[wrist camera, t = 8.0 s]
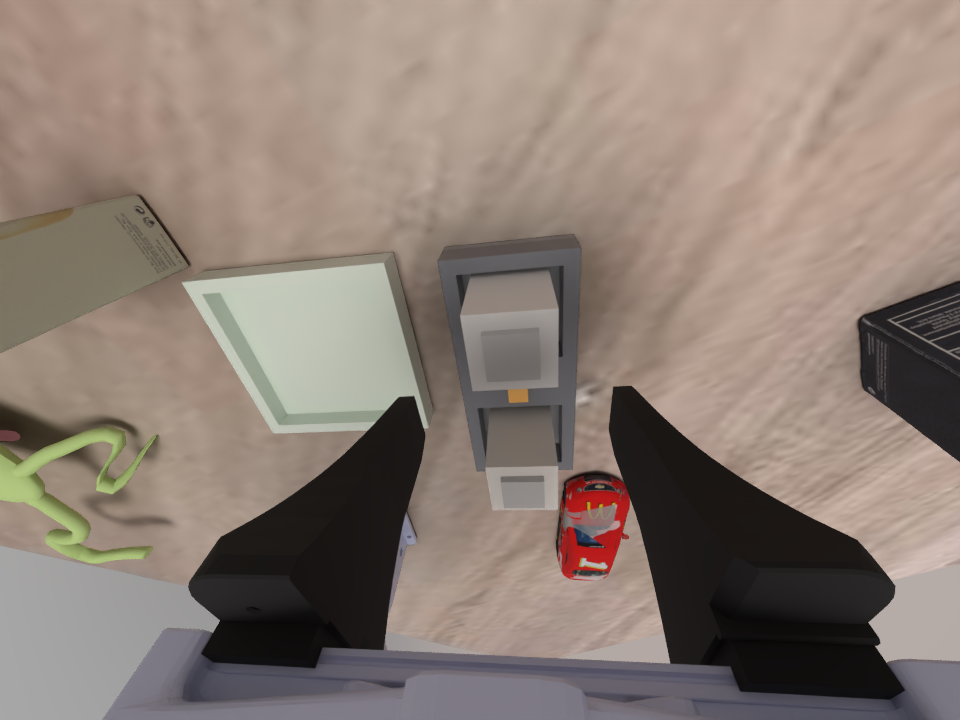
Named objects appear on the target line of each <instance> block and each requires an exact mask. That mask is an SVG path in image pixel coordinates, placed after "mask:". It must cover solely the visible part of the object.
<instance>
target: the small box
mask: <svg viewBox="0 0 960 720" xmlns="http://www.w3.org/2000/svg"><path fill="white" fill-rule="evenodd" d="M860 325H861V326H860V330H861V334H862V339H861V341H862V364H863V370H862V373H861V374H862V378H863V386H864V390H865V391H867V392H868V393H869V394H871V395H872V396H874V397H875V398H876V399H877V400H879V401H880V402H881V403H883V404H884V405H885V406H887V407H888V408H890V409H891V410H892V411H893V412H895V413H896V414H897V415H899V416H900V417H901V418H903V419H904V420H905V421H906V422H908V423H909V424H910V425H912V426H913V427H914V428H916V429H917V430H918V431H920V432H921V433H922V434H923V435H925V436H926V437H928V438H929V439H930V440H932V441H933V442H934V443H936V444H937V445H938V446H940V447H941V448H942V449H943V450H944V451H946V452H947V453H949V454H950V455H951V456H952V457H954V458H955V459H957V460H958V461H959V462H960V282H959V283H957V284H954V285H951V286H948V287H945V288H943V289H940V290H937V291H934V292H932V293H929V294H926V295H923V296H920V297H918V298H915V299H912V300H909V301H906V302H904V303H901V304H898V305H896V306H892V307H890V308H887V309H884V310H881V311H879V312H876V313H873V314H870V315H868V316H865V317H863V319H862V320H861V324H860Z"/></svg>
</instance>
